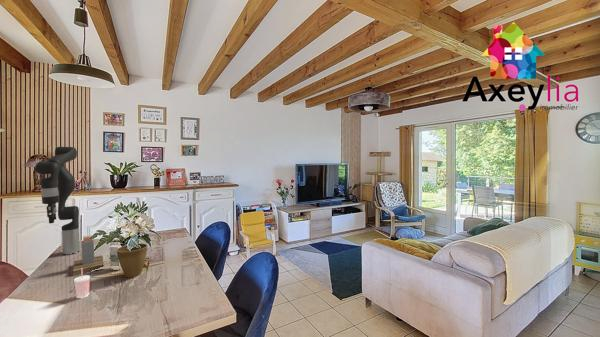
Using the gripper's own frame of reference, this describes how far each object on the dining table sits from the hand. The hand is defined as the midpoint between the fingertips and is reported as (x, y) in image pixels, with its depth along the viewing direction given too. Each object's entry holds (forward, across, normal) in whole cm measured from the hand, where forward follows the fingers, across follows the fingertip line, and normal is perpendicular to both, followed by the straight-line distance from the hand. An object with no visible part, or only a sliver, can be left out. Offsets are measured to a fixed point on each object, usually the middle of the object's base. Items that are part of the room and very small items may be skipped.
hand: (52, 221), depth 159 cm
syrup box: (+28, -27, -30) cm, 49 cm away
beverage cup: (+26, -55, -15) cm, 63 cm away
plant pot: (+28, -43, -37) cm, 63 cm away
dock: (+29, -13, -16) cm, 35 cm away
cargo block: (+14, -12, -16) cm, 25 cm away
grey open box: (+26, -13, -16) cm, 33 cm away
